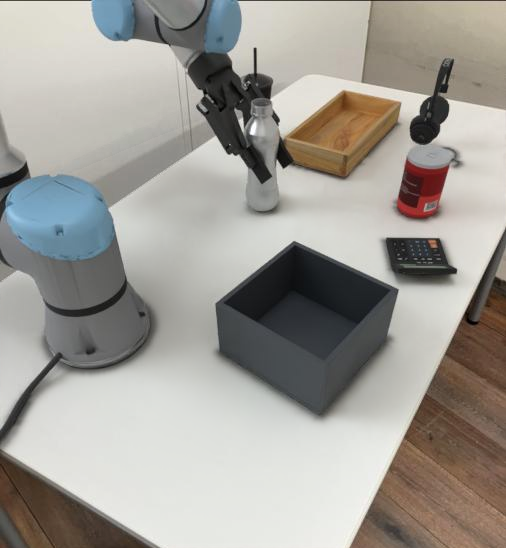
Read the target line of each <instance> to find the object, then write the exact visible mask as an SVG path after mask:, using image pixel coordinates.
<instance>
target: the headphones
mask: <svg viewBox="0 0 506 548" xmlns="http://www.w3.org/2000/svg"><path fill="white" fill-rule="evenodd" d="M454 63H455V59H454V58H449V57H445V58H444V59H443V60H442V62H441V65H440V66H439V69H438V73H437V77H436V81H435V85H434V89H433V90H434V91H433V93H432V95H431V96H428V97H426V98H425V99H424V100H423V101H422V103H421V105H420V107H419V112H418V113H419V114H418V115H416V116H415V117H413V118H412V119H411V121H410V124H409V129H408V130H409V138H410V139H411V140H412V142H413V143H414V144H417V145H430V143H432V141H434V140H435V139H436V138H438V136H439V134H440V132H441V125H442V124H443V123H445V122H446V120H447V119H448V117H449V114H450V103H449V101H448V99H446V98H445V97H443V96H442V95H441V94H448V90H449V86H450V84H449V81H450V78H451V74H452V70H453V66H454ZM447 150H450V151H453V153H455V154H457V152H456V151H455V150H454V149H451V148H450V147H447ZM456 157H457V155H455V156H454V157H453V158H452V159H451V162H452V161H454V162H457V164H456V165H455V167H457V166H458V165H459V163H460V161H459V160H456Z"/></svg>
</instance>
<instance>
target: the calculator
mask: <svg viewBox="0 0 506 548" xmlns="http://www.w3.org/2000/svg"><path fill="white" fill-rule="evenodd" d="M385 244H386V249H387V254H388V257H389V262H390V267H391V269H392V270H394V271H395V272H396V273H397V274H404V275H407V274H408V275H410V274H414V275H415V274H417V275H429V274H430V275H457V274H458V268H457V267H455V266H454V265H451V264H449V261H448V259H447V256H446V253H445V250H444V246H443V245H442V241H441V238H440V237H386V238H385Z"/></svg>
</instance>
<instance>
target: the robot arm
mask: <svg viewBox="0 0 506 548" xmlns="http://www.w3.org/2000/svg"><path fill="white" fill-rule="evenodd" d="M90 6H91V12H92V19H93V22H94V24H95V26H96V28H97V30H98V31H99V32H100V34H101V35H102V36H103V37H105V38H106V39H107V40H109V41H112V42H125V43H126V42H129V41H130V40H140V41H144V42H151V43H157V44H162V45H166V46H168V47H169V48H170V50H171V51H172V53H173V54H174V56H175V57H176V59H177V60H178V62H179V63H180V64H181V66H182V68H183V69H186V70H187V73H186V74H187V76H188V77H189V78H190V80H191V82H192V83H193V84H194V86H195V88H196V89H197V90H198V91H202V95H203V96H202V97H201V98H200V100H199V101H197V104H196V105H195V108H196V110H197V111H198V112H199V113H200V114H201V115H202V116H203V117H204V118H205V120H206V121H207V124H208V125H209V126H210V128H211V130H212V131H213V133H214V135H215V137H216V138H217V140H218V141H219V143H220V145H221V147H222V148H223V150H224V151H225V153H226V154H227V155H229V156H230V155H233V156H234V157H237V156H239V157H240V158H241V160H242V161H243V164H245V166H246V168H247V169H248V168H249V169H250V168H251V169H252V171H253V172H254V174H255V175H256V177H257V178H258V180H259V181H260V183H261V184H263V183H265V182H266V181H267V180H269V179H270V178H271V177H273V176H272V175H271V173H270V171H269V170H268V168H267V167H266V165H265V164H264V162H263V161H262V159H261V158H260V156H259V155H258V153H257V152H256V150H255V149H254V147H253V146H252V145H250V146H249V147H247V142H246V140H245V137H244V131H243V129H242V127H241V124H240V121H239V119H238V117H237V114H236V111H235V110H237V111H240V112H243V113H244V114H245V115H246V116H247V117H248V118H249V119H251V117H252V115H251V102H252V101H253V100H255V99H259V98H264V99H266V98H265V97H264V96H263V94H262V93H261V91H260V90H259V88H258V87H257V86H256V83H255V81H254V78H253V76H252V75H251V74H250V73H247V74H248V75H247V74H246V75H247V76H246V77H242V76H240V75H239V74H237V73H236V72H235V71H234V69H233V60H232V59H231V57H230V56H229V53H230V52H232V51H233V50H234V48H235V47H236V46H237V43H238V42H239V39H240V35H241V32H242V24H243V23H242V22H243V21H242V20H243V17H242V10H241V6H240V3H239V1H238V0H91V3H90ZM242 98H243V100H242ZM241 100H242V101H241ZM272 109H273V115H272V116H271V117H272V118H273V119H274V121H275V122H276V124H277V126H278V127H279V126H280V124H279V123H280V122H281V119H280V117H279V115H278V114H277V112H276V111H275V110H274V108H273V107H272ZM1 111H2V110H0V264H1V265H4V266H6V267H9V268H12V269H14V270H17V271H19V272H21V273H24V274H26V275H28V276H29V277H31V278H32V280H34V282H35V285H36V287H37V289H38V291H39V295H40V296H41V298H42V300H43V303H44V335H45V341H46V343H47V346H48V348H49V350H50V352H51V353H52V355H53V357H52V359H51V360H49V362H48V363H47V365H46V366H44V368H43V369H42V370H41V371H40V372H39V373H38V375H36V377H34V379H33V380H32V381H31V382H30V383H29V385H28V386H27V387H26V388H25V390H24V391H23V392H22V394H21V396H20V397H19V398H18V400H17V402H16V403H15V405H14V407H13V408H12V410H11V411H10V414H9V416H8V417H7V418H6V420H5V422H4V424H3V425H2V427H1V428H0V442H1V441H2V440H3V438H4V437H5V436H6V435H7V433H8V432H9V430H10V429H11V427H12V426H13V425H14V423H15V421H16V419H17V417H18V416H19V413H20V411H21V410H22V408H23V407H24V405H25V403H26V401H27V400H28V399H29V397H30V395H31V394H32V393H33V392H34V390H35V389H36V388H37V387H38V386H39V385H40V384H41V382H42V381H43V380H44V379H45V378H46V377H47V375H49V373H50V372H51V371H52V370H53V368H54V367H55V366H56V365H57V364H58V363H59V361H60V362H61V363H62V364H65V365H68V366H70V367H73V368H74V367H75V368H79V369H96V368H97V369H98V368H103V367H108V366H111V365H113V364H116V363H119V362H121V361H123V360H125V359H127V358H128V357H131V355H133V354H134V353H135V352H137V351H138V350H139V349H140V348H141V347H142V345H144V343H145V341H146V339H147V338H148V336H149V333H150V329H151V320H150V314H149V311H148V309H147V308H148V307H147V306H146V305H145V304H146V303H145V301H144V299H143V298H142V297H141V296H140V294H139V293H138V292H137V291H136V290H135V289H134V288H133V286H132V285H131V283H130V282H129V281H128V278H127V275H126V270H125V266H124V261H123V258H122V254H121V249H120V245H119V241H118V236H117V232H116V228H115V224H114V218H113V215H112V213H111V212H110V210H109V207H108V204H107V202H106V199H105V197H104V195H103V194H102V192H101V191H100V190H99V189H98V188H97V187H96V186H94V184H92V183H91V182H89V181H87V180H85V179H83V178H80V177H78V176H74V175H71V174H60V173H57V174H56V175H55V176H51V175H50V174H41V175H36V176H33V177H31V172H30V169H29V165H28V161H27V157H26V154H25V153H24V152H23V151H22V150H21V149H19V148H18V147H16V146H14V145H13V144H11V143H10V141H9V136H8V132H7V130H6V126H5V122H4V119H3V114H2V112H1ZM284 145H285V143H284V141H283V138H282V136H281V135H280V139H279V145H278V151H277V162H278V164H279V165H280V166H281V168H282V170H284V169H286V168H287V167H288V166H290V165H291V164H293V163H292V162H294V160H293V158H292V157H291V155H290V153H289V152H288V150H287V149H286V147H285V146H284Z"/></svg>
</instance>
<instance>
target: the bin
mask: <svg viewBox="0 0 506 548" xmlns="http://www.w3.org/2000/svg"><path fill="white" fill-rule="evenodd" d="M399 292H400V289H399V288H398V287H395V286H393V285H391V284H389V283H387V282H385V281H383V280H380V279H378V278H376V277H373V276H372V275H369V274H367V273H365V272H362V271H361V270H359V269H356V268H354V267H352V266H350V265H348V264H345V263H344V262H341V261H339V260H337V259H335V258H333V257H330V256H328V255H326V254H324V253H322V252H320V251H317V250H315V249H312V248H311V247H309V246H306V245H304V244H302V243H300V242H298V241H296V240H293V241H292V242H290V243H289V244H288V245H286V246H285V247H284V248H283V249H282V250H280V251H279V252H278V253H277V254H275V255H274V256H273V257H272V258H270V259H269V260H268V261H267V262H265V263H264V264H263V265H261V266H260V267H259V268H257V269H256V270H255V271H254V272H253V273H251V274H250V275H249V276H247V277H246V278H245V279H244V280H243V281H241V282H240V283H239V284H237V286H235V287H234V288H232V289H231V290H230V291H228V293H226V294H225V295H224V296H222V297H221V298H219V300H217V301H216V302H215V303H214V306H215V307H214V308H215V318H216V328H217V335H218V336H217V337H218V338H217V339H218V348H219V353H220V354H222V355H223V356H225V357H227V358H228V359H230V360H231V361H233V362H235V363H236V364H237V365H239V366H241V367H243V369H245V370H247V371H248V372H251V373H252V374H253V375H255V376H257V377H258V378H260V379H261V380H263V381H265V382H266V383H267V384H269V385H271V386H272V387H274V388H276V389H277V390H279V391H280V392H282V393H284V394H285V395H287V397H289V398H290V399H292V400H295V401H296V402H298V403H299V404H301V405H302V406H304V407H306V408H307V409H309V410H310V411H312V412H313V413H315V414H316V415H318V416H320V415H321V414H322V413H323V412H324V410H326V408H327V407H328V406H329V405H330V404H331V402H333V400H335V398H336V397H337V396H338V394H340V392H341V391H342V390H343V389H344V388H345V387H346V386H347V384H348V383H349V382H350V381H352V379H353V378H354V376H355V375H357V373H358V372H359V371H360V369H361V368H362V367H363V366H364V365H365V364H366V363H367V361H368V360H369V359H370V358H371V357H372V356H373V355H374V353H375V352H376V351H377V350H378V349H379V348H380V346H382V344H383V343H384V342H385V341H386V340H387V338H388V333H389V330H390V326H391V323H392V318H393V316H394V312H395V307H396V302H397V298H398V295H399Z"/></svg>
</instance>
